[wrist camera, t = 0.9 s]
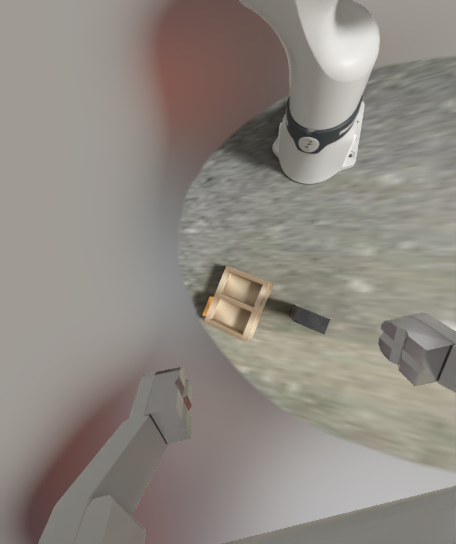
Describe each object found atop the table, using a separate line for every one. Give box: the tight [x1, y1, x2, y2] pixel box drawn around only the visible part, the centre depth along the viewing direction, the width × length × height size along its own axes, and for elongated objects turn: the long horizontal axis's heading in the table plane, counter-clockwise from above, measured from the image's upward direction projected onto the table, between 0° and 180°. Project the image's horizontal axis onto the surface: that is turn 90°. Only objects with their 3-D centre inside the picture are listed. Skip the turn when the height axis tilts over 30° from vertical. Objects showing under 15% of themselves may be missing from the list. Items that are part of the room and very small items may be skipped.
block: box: [290, 305, 330, 334], centre depth 39 cm, size 2×5×12 cm, turn 68°
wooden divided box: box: [203, 266, 273, 342], centre depth 46 cm, size 14×12×5 cm
